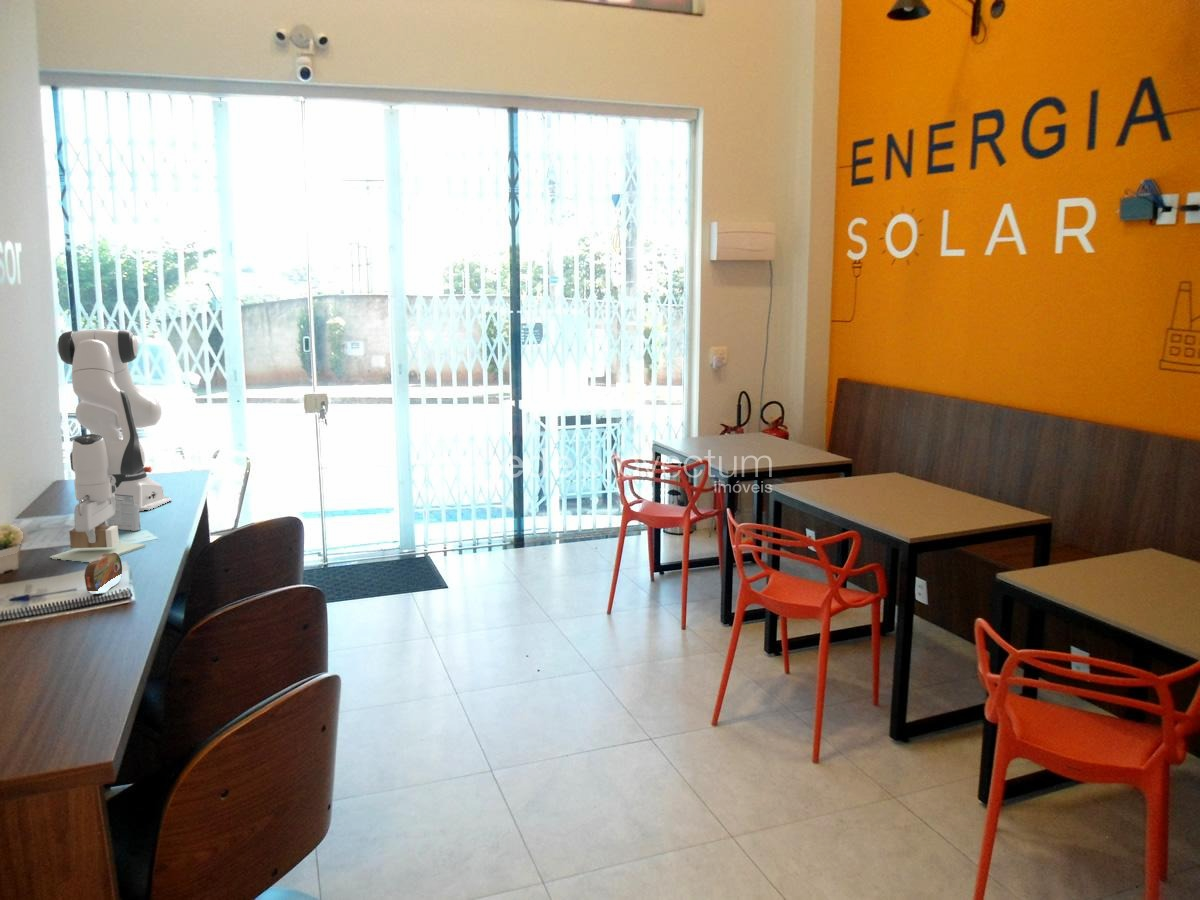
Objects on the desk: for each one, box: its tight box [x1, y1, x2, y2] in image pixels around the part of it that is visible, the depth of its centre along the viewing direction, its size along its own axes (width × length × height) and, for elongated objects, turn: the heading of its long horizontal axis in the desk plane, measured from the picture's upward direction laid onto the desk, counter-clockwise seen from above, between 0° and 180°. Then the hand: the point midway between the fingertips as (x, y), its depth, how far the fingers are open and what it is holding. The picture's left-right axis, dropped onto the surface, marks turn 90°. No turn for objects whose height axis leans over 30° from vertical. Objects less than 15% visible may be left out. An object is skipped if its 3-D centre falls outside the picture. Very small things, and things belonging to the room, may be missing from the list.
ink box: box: [107, 494, 141, 532], centre depth 281 cm, size 12×2×12 cm, turn 71°
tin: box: [83, 553, 123, 592], centre depth 225 cm, size 15×3×8 cm, turn 5°
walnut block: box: [68, 525, 120, 549], centre depth 256 cm, size 5×5×11 cm
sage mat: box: [49, 541, 146, 563], centre depth 257 cm, size 18×16×1 cm
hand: (97, 539), depth 256 cm, fingers closed on walnut block, 5 cm apart
